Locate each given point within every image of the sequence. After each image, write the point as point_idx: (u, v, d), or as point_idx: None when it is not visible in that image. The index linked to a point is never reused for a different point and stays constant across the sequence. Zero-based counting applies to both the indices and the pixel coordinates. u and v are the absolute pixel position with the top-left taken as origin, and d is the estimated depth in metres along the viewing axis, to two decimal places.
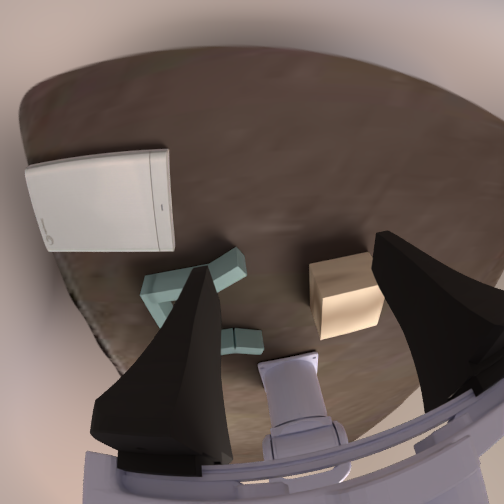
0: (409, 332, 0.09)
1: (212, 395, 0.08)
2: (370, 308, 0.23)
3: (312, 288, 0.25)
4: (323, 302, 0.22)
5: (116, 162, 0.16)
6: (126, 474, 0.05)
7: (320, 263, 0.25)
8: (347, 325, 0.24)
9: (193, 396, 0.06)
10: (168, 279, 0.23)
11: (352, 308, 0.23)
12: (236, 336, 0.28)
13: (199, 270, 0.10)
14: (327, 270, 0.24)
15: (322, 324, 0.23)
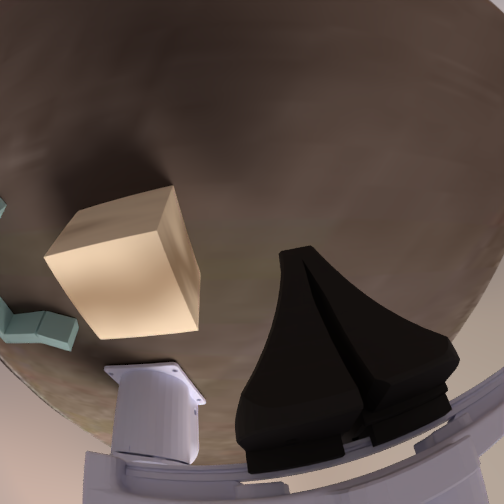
0: None
1: None
2: (153, 292, 0.12)
3: None
4: (50, 266, 0.10)
5: None
6: (126, 474, 0.05)
7: (90, 208, 0.13)
8: (128, 321, 0.13)
9: None
10: None
11: (111, 286, 0.11)
12: (42, 321, 0.17)
13: (291, 253, 0.10)
14: (87, 217, 0.12)
15: (79, 310, 0.12)
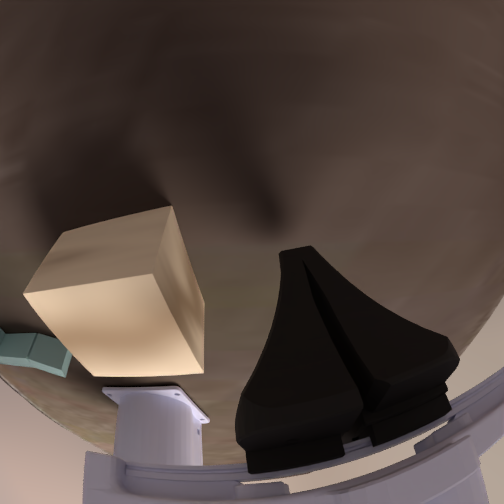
0: None
1: None
2: (151, 337, 0.10)
3: None
4: (31, 303, 0.08)
5: None
6: (126, 474, 0.05)
7: (76, 230, 0.11)
8: (124, 362, 0.11)
9: None
10: None
11: (102, 329, 0.09)
12: (34, 345, 0.15)
13: (291, 253, 0.10)
14: (71, 242, 0.10)
15: (69, 349, 0.10)
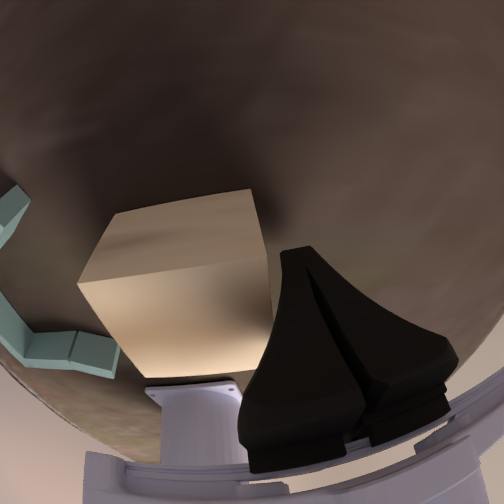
0: None
1: None
2: (237, 329, 0.09)
3: None
4: (86, 295, 0.08)
5: None
6: (126, 474, 0.05)
7: (133, 213, 0.11)
8: (192, 360, 0.10)
9: None
10: None
11: (178, 323, 0.09)
12: (75, 344, 0.15)
13: (292, 253, 0.10)
14: (133, 226, 0.10)
15: (123, 348, 0.10)
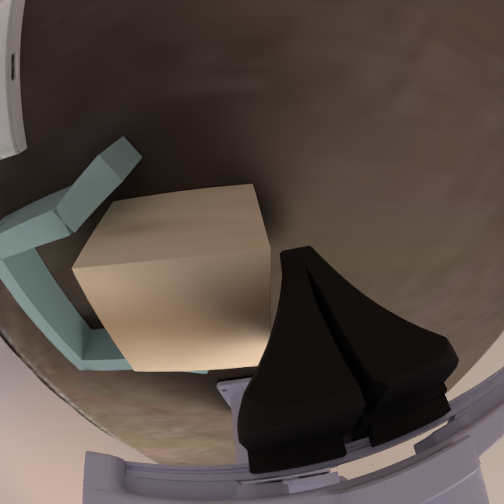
0: None
1: None
2: (233, 324, 0.09)
3: None
4: (80, 282, 0.07)
5: None
6: (126, 474, 0.05)
7: (132, 202, 0.10)
8: (184, 355, 0.10)
9: None
10: (18, 215, 0.09)
11: (174, 315, 0.09)
12: None
13: (291, 253, 0.10)
14: (132, 213, 0.10)
15: (114, 339, 0.09)
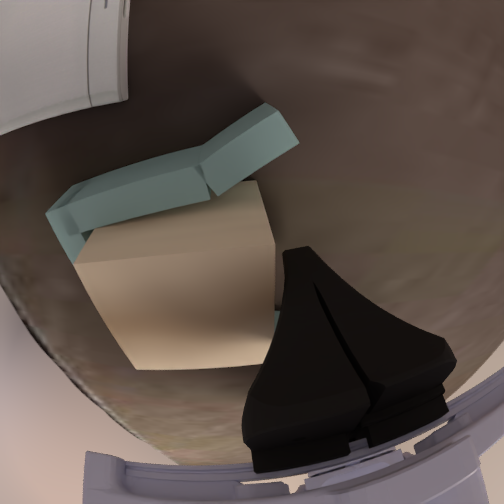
0: None
1: None
2: (236, 321, 0.09)
3: None
4: (81, 277, 0.07)
5: None
6: (126, 474, 0.05)
7: None
8: (186, 353, 0.10)
9: None
10: (108, 179, 0.09)
11: (177, 312, 0.09)
12: None
13: (294, 252, 0.10)
14: None
15: (116, 337, 0.09)
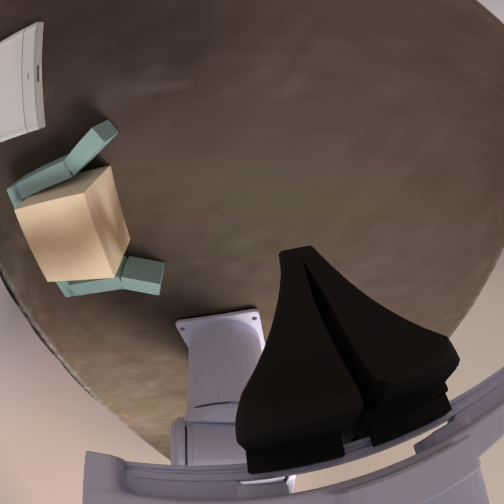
0: None
1: None
2: (82, 240, 0.14)
3: None
4: (17, 217, 0.12)
5: (0, 46, 0.08)
6: (126, 474, 0.05)
7: None
8: (66, 265, 0.15)
9: None
10: (36, 170, 0.14)
11: (55, 234, 0.14)
12: (126, 265, 0.19)
13: (290, 253, 0.10)
14: None
15: (34, 254, 0.14)
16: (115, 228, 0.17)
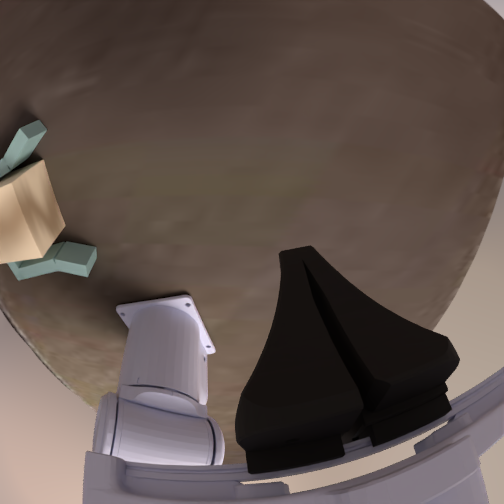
0: None
1: None
2: (15, 224, 0.14)
3: None
4: None
5: None
6: (126, 474, 0.05)
7: (4, 175, 0.15)
8: (8, 248, 0.14)
9: None
10: None
11: None
12: (62, 249, 0.19)
13: (291, 253, 0.10)
14: None
15: None
16: (46, 214, 0.16)
